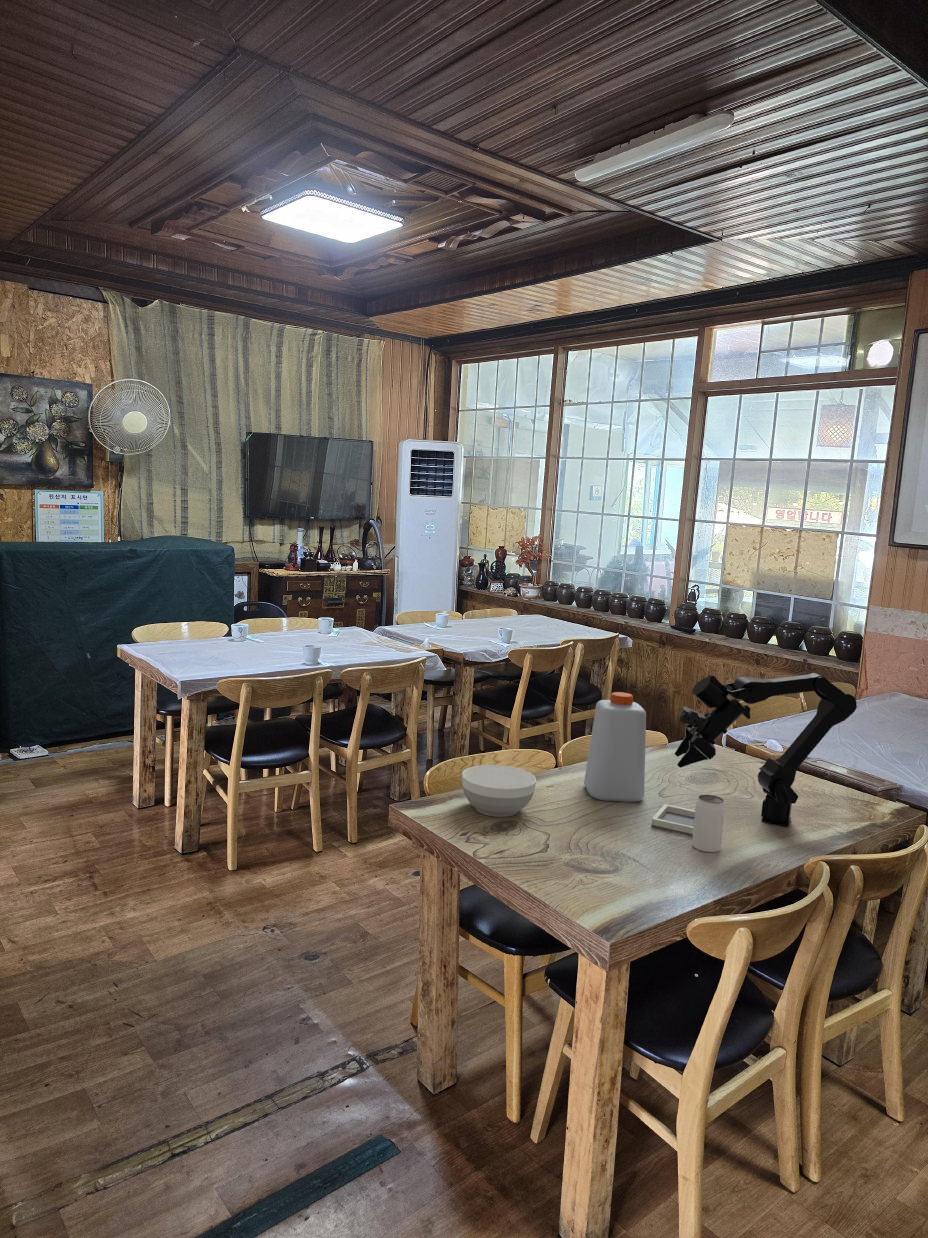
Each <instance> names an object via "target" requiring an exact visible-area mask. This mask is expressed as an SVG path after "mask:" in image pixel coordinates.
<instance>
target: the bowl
mask: <svg viewBox="0 0 928 1238" xmlns="http://www.w3.org/2000/svg"><path fill="white" fill-rule="evenodd" d="M461 784H462V790H463V794H464V797H466V799H467V802H469V804H470V805H472V806H473V807H474V808H475V810H476V811H477V812H479V813H480V814H482V815H485V816H489V817H497V818H505V817H511V816H514V815H516V814H518V812H519V811H521V810H523V809H524V808H525V807H527V805H528V804H529V803H530V802H531V800H532V799H533V795H534V793H535V790H536V784H537V778H536V776H535V775H534V774H533V773H531V772H530V771H528V770H525V769H522V768H520V767H519V768H518V767H514V766H511V765H510V766H508V765H501V764H480V765H473V766H470V767H467V768H465V769H464V770H463V771H462V773H461Z"/></svg>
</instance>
